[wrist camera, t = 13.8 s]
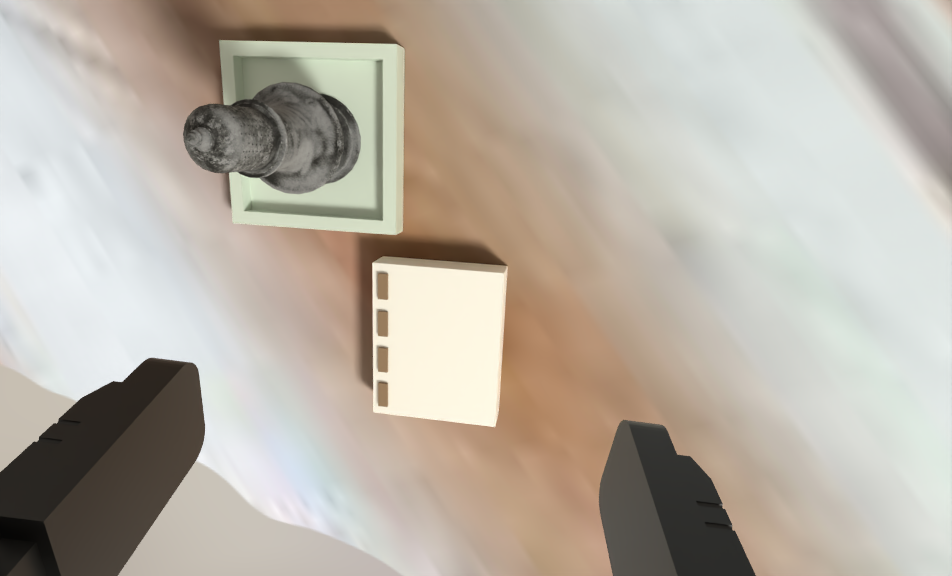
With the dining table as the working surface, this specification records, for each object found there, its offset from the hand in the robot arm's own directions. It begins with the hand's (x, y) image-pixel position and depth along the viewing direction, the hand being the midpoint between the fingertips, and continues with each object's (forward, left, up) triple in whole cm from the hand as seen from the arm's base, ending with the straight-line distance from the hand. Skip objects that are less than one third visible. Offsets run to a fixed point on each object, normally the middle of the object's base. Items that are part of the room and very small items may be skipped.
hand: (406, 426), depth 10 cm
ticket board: (+7, -4, -24) cm, 25 cm away
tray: (-5, -12, -24) cm, 27 cm away
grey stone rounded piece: (-5, -12, -23) cm, 27 cm away
